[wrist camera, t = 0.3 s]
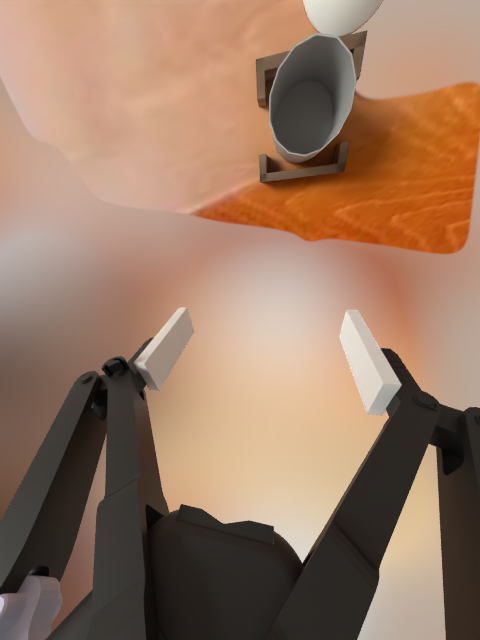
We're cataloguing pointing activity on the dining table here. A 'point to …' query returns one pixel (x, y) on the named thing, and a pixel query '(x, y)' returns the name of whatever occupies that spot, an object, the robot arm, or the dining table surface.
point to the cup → (311, 96)
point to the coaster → (339, 15)
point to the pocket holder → (266, 72)
